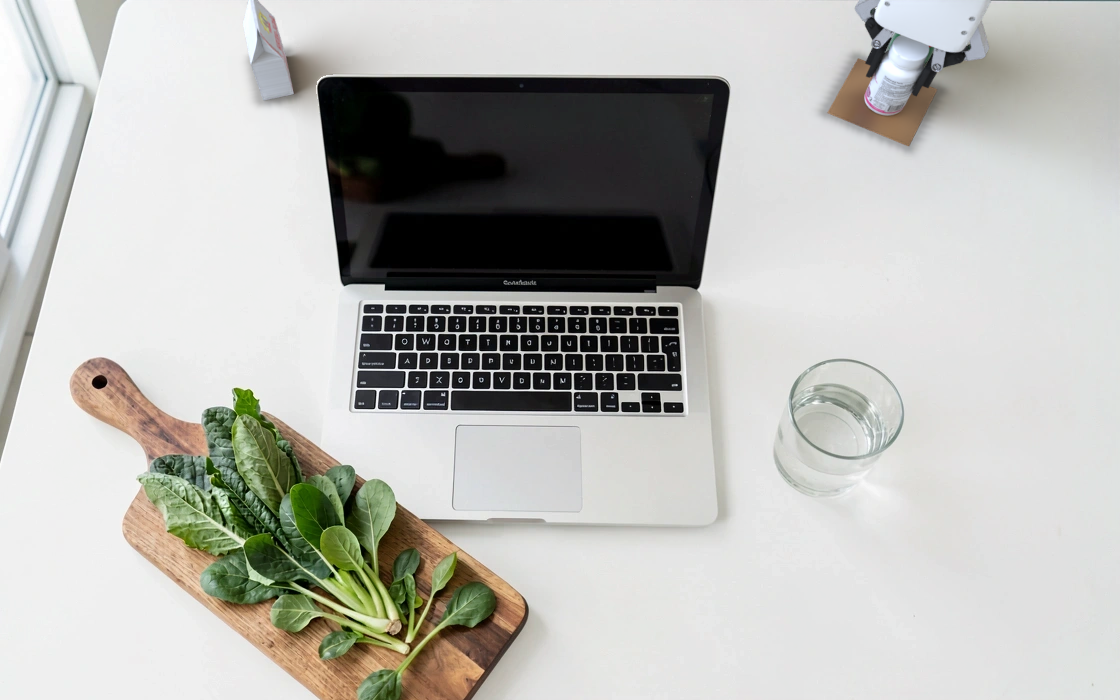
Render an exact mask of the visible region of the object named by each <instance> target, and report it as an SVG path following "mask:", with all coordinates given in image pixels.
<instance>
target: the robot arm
mask: <svg viewBox="0 0 1120 700" xmlns="http://www.w3.org/2000/svg"><path fill="white" fill-rule="evenodd" d="M991 3H992V0H858V1H857V3H856V5H855V7H854V11H855V13H856V14H857V15H858V17H859V18H860V19H861V21H862V22H864V27H865V29H866V32H867V33H868V35H869V37H870V39H871V43H870V44H871V45H870V46H871V47H872V48H871V50H870V52H869V53H868V56H867V58H866V60H865V61H866V62H865V64H867V65H870V68H869V70H868V72H867V74H866V77H869V78H870V77H873V75H874V73H875V71H876V69H877V67H878V65H879V63H880V61H881V58H882V57H883V55H884V54H885V52H886V51H887V50H888V47H889V44H890V42H891V40H892V37H893V35H894V33H898V34H900V35H903V36H905V37H908V38H910V39H913V40H916V41H918V42H921V43H924V44H926V45H929V46H932V47H934V51H933V53H932V55H931V57H930V58H929V60H928V61H927V62H926V63H925V66H924V70H923V72H922V74H921V76H920V77H919V79H918V81H917V83H916V85H915V87H914V89H913V90H912V92H911V93H913V94H912V95H914V96H917V95H918V93H919V91H920V89H921V88H922V86H923V87H926V88H929V86H930V87H931V84H932V83H933V81H934V79H935V78H936V75H937V73H939V72H942V71H943V69H944V68H948V67H952V66H956V65H959V64H961V63H963V62H965V61H966V62H969V61H976V60H981V59H984V58H986V55H987V54H988V51H989V49H990V45H989V41H988V37H987V35H986V31H985V26H984V23H983V18H984V16H985V15H986V12H987V10H988V8H989V7H990V4H991Z"/></svg>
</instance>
